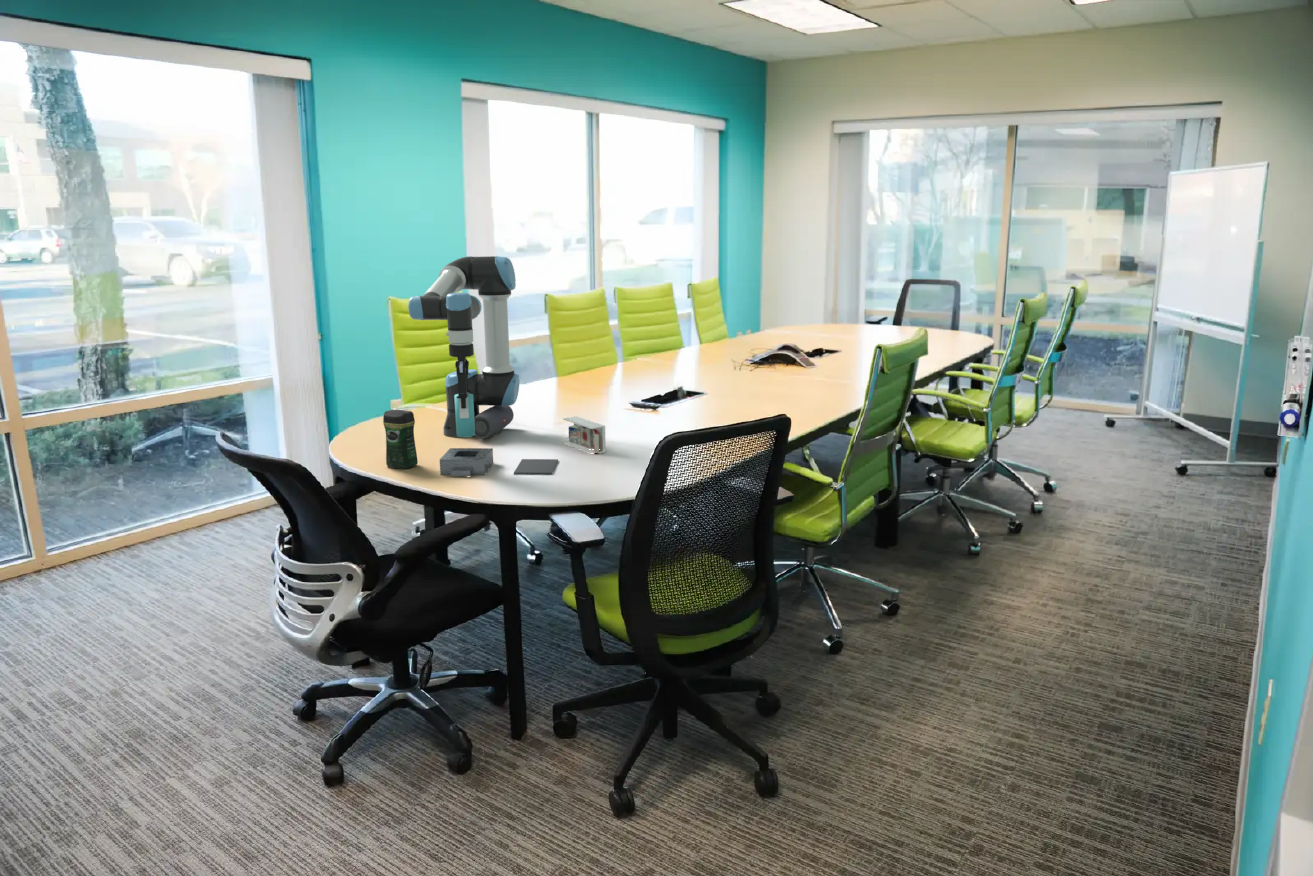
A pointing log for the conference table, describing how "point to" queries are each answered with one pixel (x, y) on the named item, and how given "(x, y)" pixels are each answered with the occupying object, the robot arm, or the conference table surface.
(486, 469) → the housing
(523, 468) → the mat
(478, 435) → the bluetooth speaker
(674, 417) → the conference table surface
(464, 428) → the teal cylinder
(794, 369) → the conference table surface
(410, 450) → the coffee jar
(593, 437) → the cigarette display
